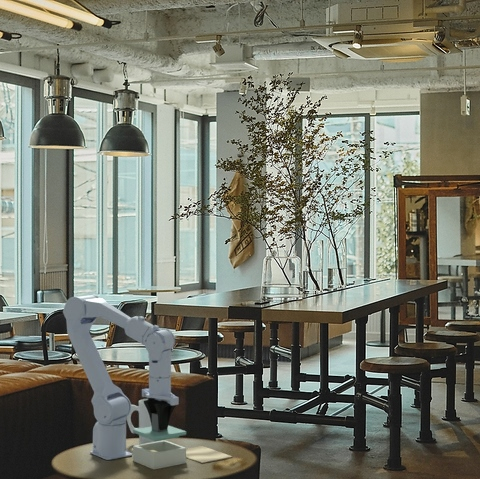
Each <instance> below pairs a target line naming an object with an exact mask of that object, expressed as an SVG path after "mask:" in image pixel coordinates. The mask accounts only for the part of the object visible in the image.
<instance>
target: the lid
mask: <svg viewBox="0 0 480 479" xmlns="http://www.w3.org/2000/svg"><path fill="white" fill-rule="evenodd" d="M138 428H139V427H138ZM132 434H136V435H138V436H139V435H140V436H142V437H145V438H148V439H150V440H153V441H160V440H162V441H163V440H166V441H167V440H171V439H176V438H179V437H180V436H186V435H187V431H186V430H183V429H181V428H177V427H174V426H172V425H168V428H167V429H165V430H160V429H159V424H158V415H157V412H156V413H152V427H145V428H139V429H133V433H132Z"/></svg>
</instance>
